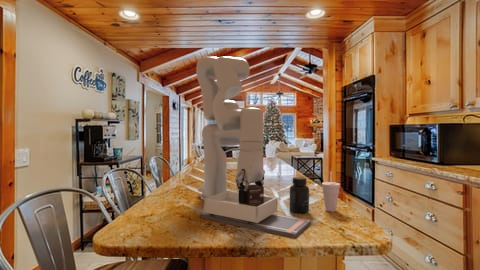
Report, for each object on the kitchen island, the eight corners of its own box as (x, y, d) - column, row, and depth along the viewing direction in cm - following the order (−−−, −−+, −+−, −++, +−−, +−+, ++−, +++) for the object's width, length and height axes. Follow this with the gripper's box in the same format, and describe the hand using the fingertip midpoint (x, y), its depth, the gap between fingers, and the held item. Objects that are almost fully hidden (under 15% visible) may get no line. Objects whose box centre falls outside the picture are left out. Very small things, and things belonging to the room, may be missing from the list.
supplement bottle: (309, 215, 96) (309, 180, 96) (289, 213, 97) (289, 179, 97) (308, 209, 103) (308, 176, 102) (289, 208, 104) (289, 176, 104)
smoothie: (340, 208, 104) (341, 171, 103) (339, 213, 98) (339, 173, 97) (322, 206, 106) (323, 169, 106) (320, 211, 100) (320, 172, 100)
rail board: (199, 217, 93) (199, 214, 93) (224, 207, 105) (224, 204, 105) (295, 237, 76) (295, 233, 76) (311, 223, 87) (311, 219, 87)
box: (248, 212, 87) (248, 188, 87) (238, 207, 92) (238, 185, 92) (264, 209, 90) (264, 186, 90) (254, 205, 95) (254, 183, 95)
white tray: (203, 214, 92) (203, 198, 92) (227, 204, 104) (227, 190, 104) (257, 225, 82) (257, 207, 81) (277, 213, 93) (277, 197, 93)
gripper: (254, 145, 100) (253, 193, 100) (226, 147, 85) (226, 204, 85) (273, 145, 96) (273, 196, 96) (247, 148, 81) (247, 207, 81)
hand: (251, 199), depth 91 cm, fingers open, 9 cm apart
